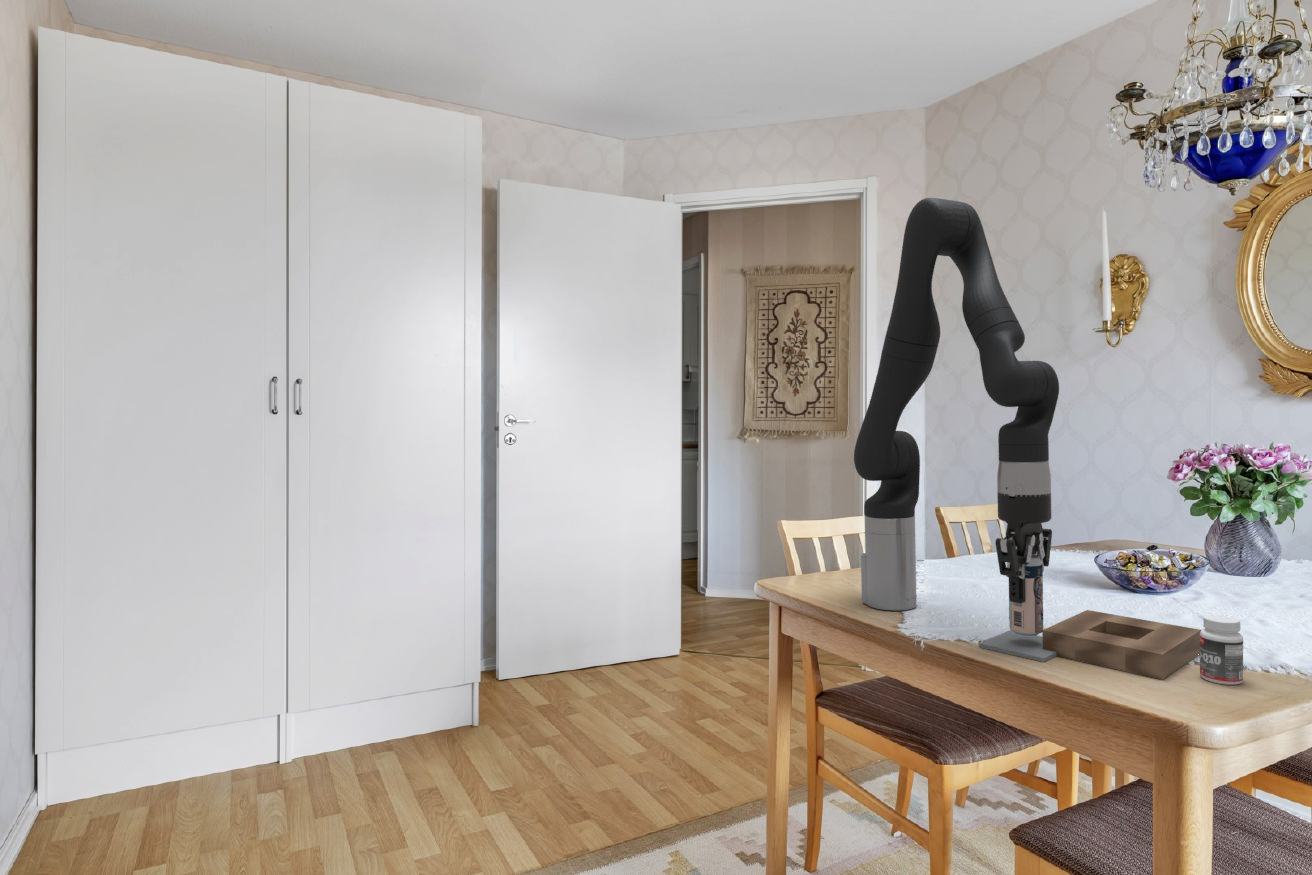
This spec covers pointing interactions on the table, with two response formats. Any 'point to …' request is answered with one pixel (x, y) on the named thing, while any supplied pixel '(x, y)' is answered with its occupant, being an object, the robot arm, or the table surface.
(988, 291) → the robot arm
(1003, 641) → the mat
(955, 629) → the table surface
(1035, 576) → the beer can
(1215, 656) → the pill bottle
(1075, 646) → the block
